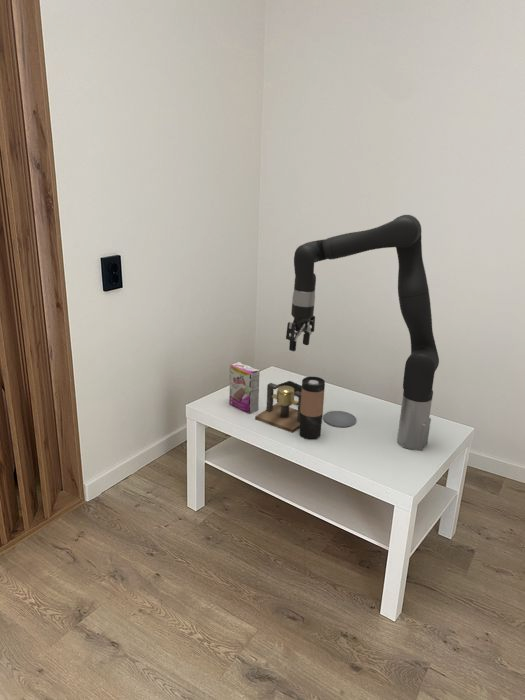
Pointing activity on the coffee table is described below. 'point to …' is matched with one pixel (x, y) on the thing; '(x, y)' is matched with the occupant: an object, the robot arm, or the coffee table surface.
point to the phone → (292, 385)
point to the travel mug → (311, 407)
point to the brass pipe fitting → (285, 396)
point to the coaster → (339, 419)
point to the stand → (280, 412)
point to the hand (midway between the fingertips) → (299, 347)
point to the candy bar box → (244, 387)
